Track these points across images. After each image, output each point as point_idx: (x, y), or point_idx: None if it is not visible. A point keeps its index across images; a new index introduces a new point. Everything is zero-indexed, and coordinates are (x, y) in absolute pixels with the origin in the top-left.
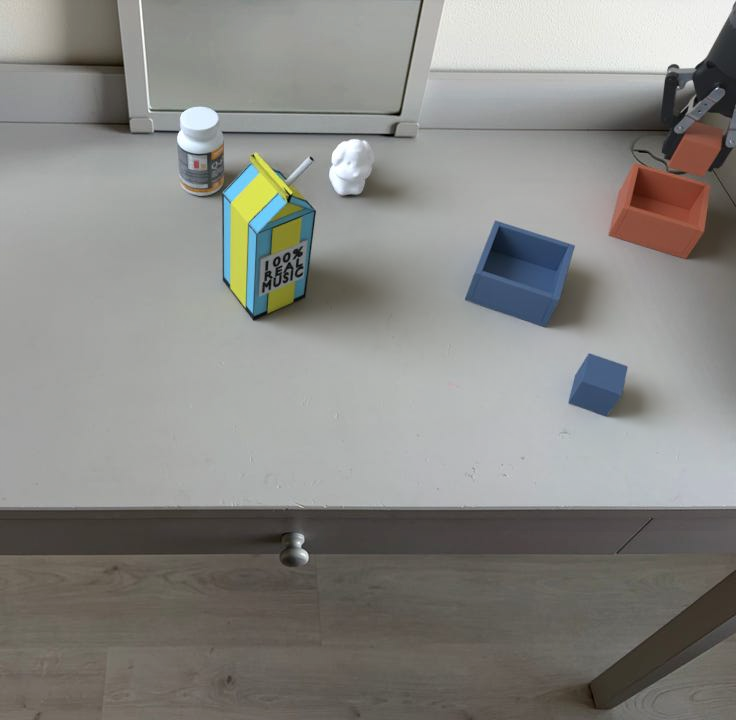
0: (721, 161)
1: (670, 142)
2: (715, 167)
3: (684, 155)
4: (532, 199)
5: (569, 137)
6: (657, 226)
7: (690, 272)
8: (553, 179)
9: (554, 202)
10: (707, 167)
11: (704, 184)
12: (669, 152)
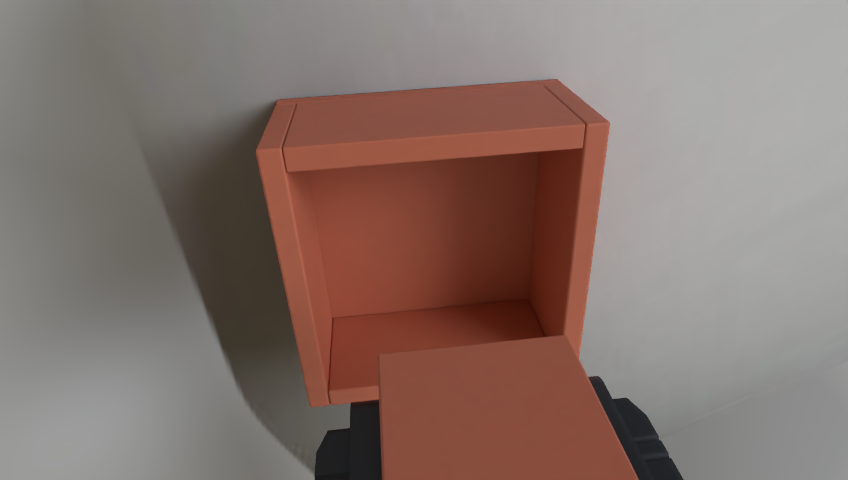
0: (330, 473)
1: (647, 463)
2: (342, 432)
3: (552, 414)
4: (815, 125)
5: (684, 416)
6: (437, 120)
7: (240, 35)
8: (737, 249)
9: (740, 149)
10: (389, 402)
11: (330, 397)
12: (608, 409)
